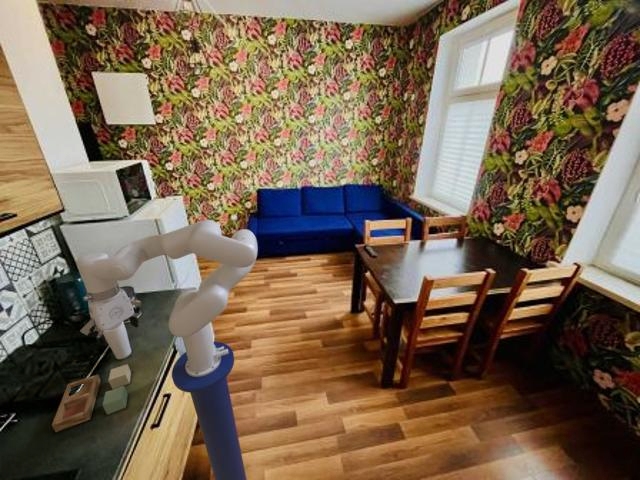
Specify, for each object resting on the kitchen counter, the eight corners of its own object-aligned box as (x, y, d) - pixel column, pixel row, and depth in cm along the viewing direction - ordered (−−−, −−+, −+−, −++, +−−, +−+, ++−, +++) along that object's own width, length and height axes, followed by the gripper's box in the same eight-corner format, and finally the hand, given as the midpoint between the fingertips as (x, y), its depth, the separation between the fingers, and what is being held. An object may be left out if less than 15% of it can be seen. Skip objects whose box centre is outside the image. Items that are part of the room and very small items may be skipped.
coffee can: (145, 314, 130) (138, 289, 124) (122, 326, 122) (113, 301, 116) (135, 307, 135) (127, 283, 129) (112, 318, 126) (102, 293, 121)
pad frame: (100, 380, 96) (97, 374, 94) (90, 419, 83) (86, 412, 82) (71, 390, 92) (67, 384, 91) (55, 432, 79) (51, 425, 78)
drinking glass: (115, 351, 108) (103, 322, 102) (134, 346, 111) (124, 317, 105) (112, 364, 102) (99, 333, 96) (133, 357, 105) (121, 327, 99)
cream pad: (131, 372, 99) (127, 364, 97) (129, 383, 95) (125, 374, 93) (114, 378, 96) (110, 369, 95) (112, 389, 92) (108, 380, 91)
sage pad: (127, 395, 90) (123, 385, 89) (125, 407, 86) (121, 398, 85) (109, 401, 88) (105, 392, 87) (106, 414, 84) (102, 405, 83)
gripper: (77, 311, 73) (96, 357, 80) (140, 281, 88) (152, 322, 94) (63, 303, 77) (83, 348, 83) (126, 276, 91) (139, 316, 98)
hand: (120, 334), depth 89 cm, fingers open, 9 cm apart
